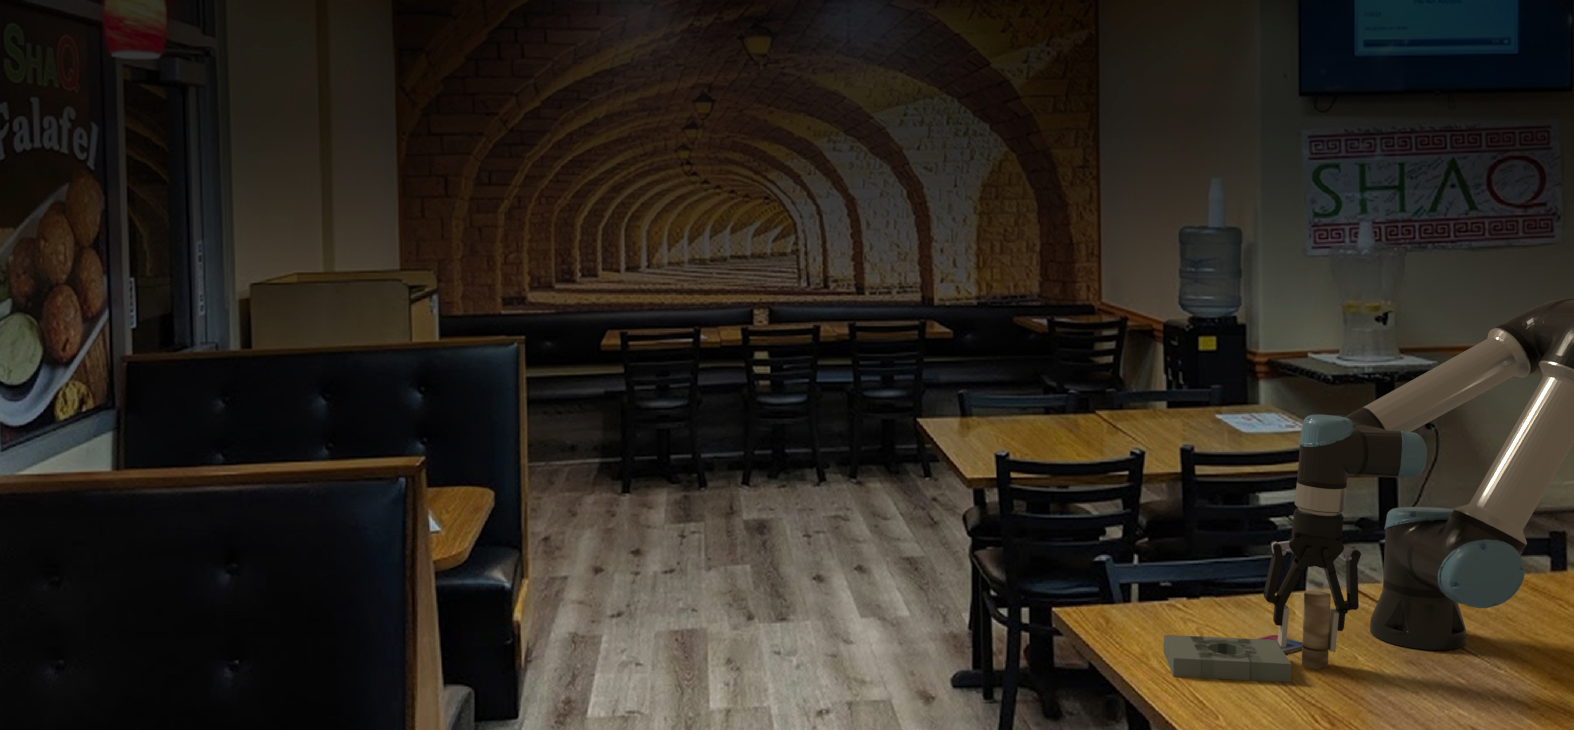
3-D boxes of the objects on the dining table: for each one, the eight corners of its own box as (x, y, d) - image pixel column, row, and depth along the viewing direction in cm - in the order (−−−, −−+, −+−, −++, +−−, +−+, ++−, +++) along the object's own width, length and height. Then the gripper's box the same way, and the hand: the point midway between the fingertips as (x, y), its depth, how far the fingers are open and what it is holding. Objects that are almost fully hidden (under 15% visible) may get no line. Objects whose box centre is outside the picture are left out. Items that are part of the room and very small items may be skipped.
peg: (1324, 661, 211) (1327, 591, 210) (1331, 669, 207) (1333, 598, 206) (1298, 660, 212) (1301, 590, 211) (1304, 668, 208) (1307, 597, 207)
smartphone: (1216, 648, 217) (1273, 633, 224) (1216, 653, 217) (1273, 638, 225) (1252, 659, 210) (1310, 643, 218) (1252, 665, 210) (1310, 649, 218)
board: (1274, 657, 213) (1275, 639, 213) (1290, 682, 202) (1291, 663, 201) (1163, 651, 216) (1164, 634, 216) (1173, 676, 204) (1173, 658, 204)
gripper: (1377, 510, 209) (1363, 645, 211) (1250, 500, 212) (1238, 633, 215) (1390, 520, 202) (1376, 660, 204) (1259, 510, 205) (1247, 648, 207)
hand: (1306, 646), depth 209 cm, fingers open, 7 cm apart
